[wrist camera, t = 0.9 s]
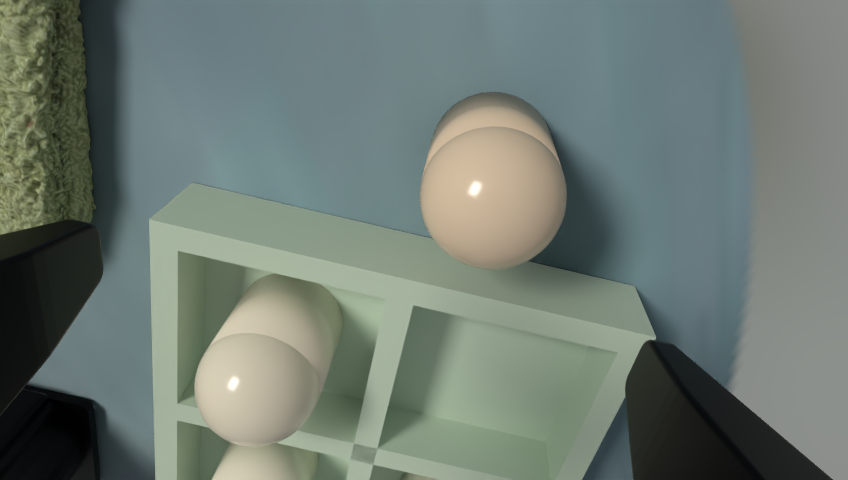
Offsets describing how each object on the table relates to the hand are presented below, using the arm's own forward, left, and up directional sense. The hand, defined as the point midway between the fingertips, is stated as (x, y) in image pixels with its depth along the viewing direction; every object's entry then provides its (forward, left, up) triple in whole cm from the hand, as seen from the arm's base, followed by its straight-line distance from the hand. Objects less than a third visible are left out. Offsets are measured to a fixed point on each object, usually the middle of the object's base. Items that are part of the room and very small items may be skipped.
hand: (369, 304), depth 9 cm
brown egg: (-1, -2, -12) cm, 13 cm away
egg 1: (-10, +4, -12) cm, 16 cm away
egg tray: (-14, 0, -12) cm, 19 cm away
